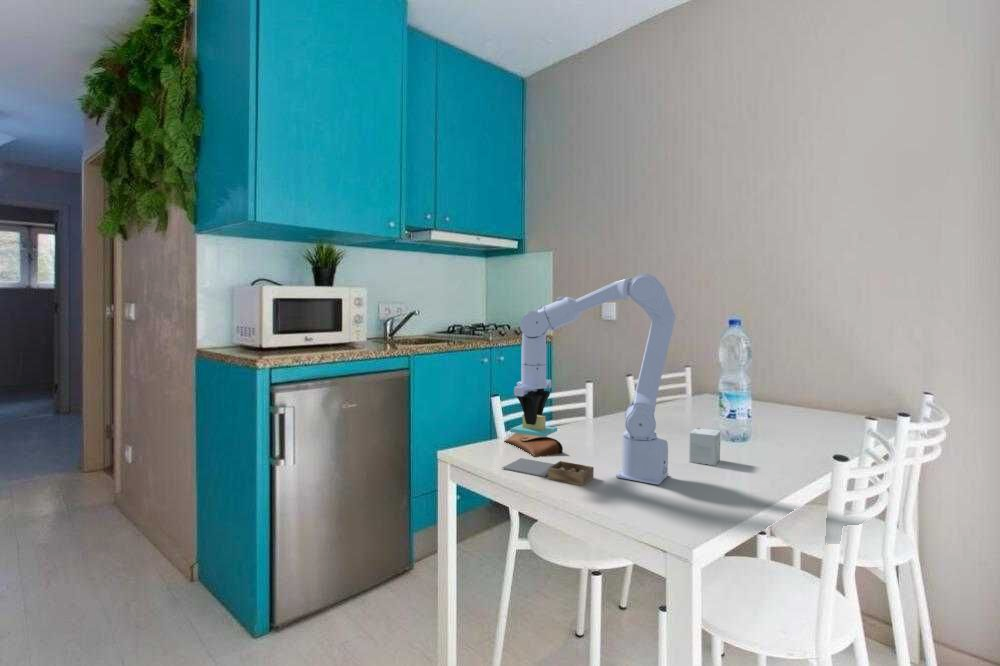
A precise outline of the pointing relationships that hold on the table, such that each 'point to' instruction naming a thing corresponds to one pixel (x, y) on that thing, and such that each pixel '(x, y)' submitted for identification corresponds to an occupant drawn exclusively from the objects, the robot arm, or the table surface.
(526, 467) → the mat
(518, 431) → the lid
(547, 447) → the sunglasses case
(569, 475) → the box
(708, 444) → the skincare box
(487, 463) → the table surface
